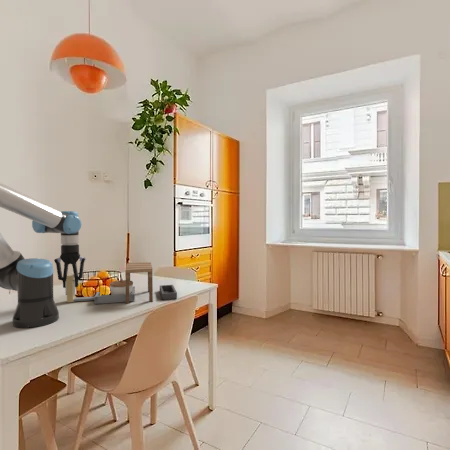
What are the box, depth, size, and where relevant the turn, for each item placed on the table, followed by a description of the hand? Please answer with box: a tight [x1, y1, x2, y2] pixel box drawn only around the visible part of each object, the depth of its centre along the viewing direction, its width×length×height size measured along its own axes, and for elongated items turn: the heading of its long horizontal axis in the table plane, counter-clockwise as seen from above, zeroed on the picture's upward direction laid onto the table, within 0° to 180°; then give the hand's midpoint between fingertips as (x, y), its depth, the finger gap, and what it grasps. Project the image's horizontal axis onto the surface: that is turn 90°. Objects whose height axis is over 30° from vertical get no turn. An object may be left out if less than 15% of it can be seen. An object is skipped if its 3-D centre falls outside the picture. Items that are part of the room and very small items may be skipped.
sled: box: [66, 273, 136, 305], centre depth 149 cm, size 16×30×12 cm, turn 106°
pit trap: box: [159, 284, 178, 301], centre depth 158 cm, size 18×7×3 cm, turn 16°
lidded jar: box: [109, 278, 134, 295], centre depth 151 cm, size 11×11×9 cm
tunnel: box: [124, 261, 154, 304], centre depth 154 cm, size 21×12×16 cm, turn 16°
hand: (70, 294), depth 146 cm, fingers closed on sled, 3 cm apart
